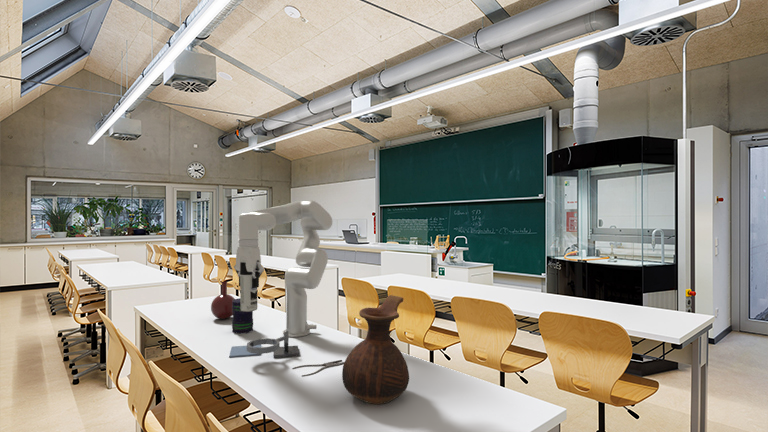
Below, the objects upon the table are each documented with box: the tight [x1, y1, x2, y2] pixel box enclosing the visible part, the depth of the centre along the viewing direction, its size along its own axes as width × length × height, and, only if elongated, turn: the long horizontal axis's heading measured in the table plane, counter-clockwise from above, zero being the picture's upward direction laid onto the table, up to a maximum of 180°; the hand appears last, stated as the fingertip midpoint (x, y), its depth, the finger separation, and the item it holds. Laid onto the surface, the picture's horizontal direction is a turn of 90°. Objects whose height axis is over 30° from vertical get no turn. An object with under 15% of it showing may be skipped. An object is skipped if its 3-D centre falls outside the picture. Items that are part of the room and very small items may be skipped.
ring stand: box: [246, 330, 300, 359], centre depth 164 cm, size 20×20×9 cm
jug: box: [341, 294, 410, 405], centre depth 132 cm, size 22×22×30 cm
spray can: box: [239, 262, 258, 312], centre depth 170 cm, size 7×7×20 cm
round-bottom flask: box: [210, 280, 235, 320], centre depth 224 cm, size 13×13×20 cm
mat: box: [228, 345, 262, 358], centre depth 172 cm, size 12×12×1 cm
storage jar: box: [231, 298, 254, 334], centre depth 202 cm, size 10×10×15 cm
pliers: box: [292, 359, 345, 377], centre depth 156 cm, size 10×1×20 cm
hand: (248, 286), depth 170 cm, fingers closed on spray can, 6 cm apart
